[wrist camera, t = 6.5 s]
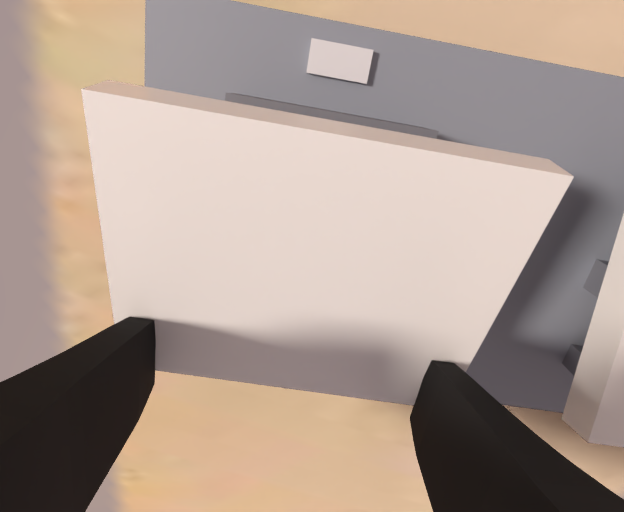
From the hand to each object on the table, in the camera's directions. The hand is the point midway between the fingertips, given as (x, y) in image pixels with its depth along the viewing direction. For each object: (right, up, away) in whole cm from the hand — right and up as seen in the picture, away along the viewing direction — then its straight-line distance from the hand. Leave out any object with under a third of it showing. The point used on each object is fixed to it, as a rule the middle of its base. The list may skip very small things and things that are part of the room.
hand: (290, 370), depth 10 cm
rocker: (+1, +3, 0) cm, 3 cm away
